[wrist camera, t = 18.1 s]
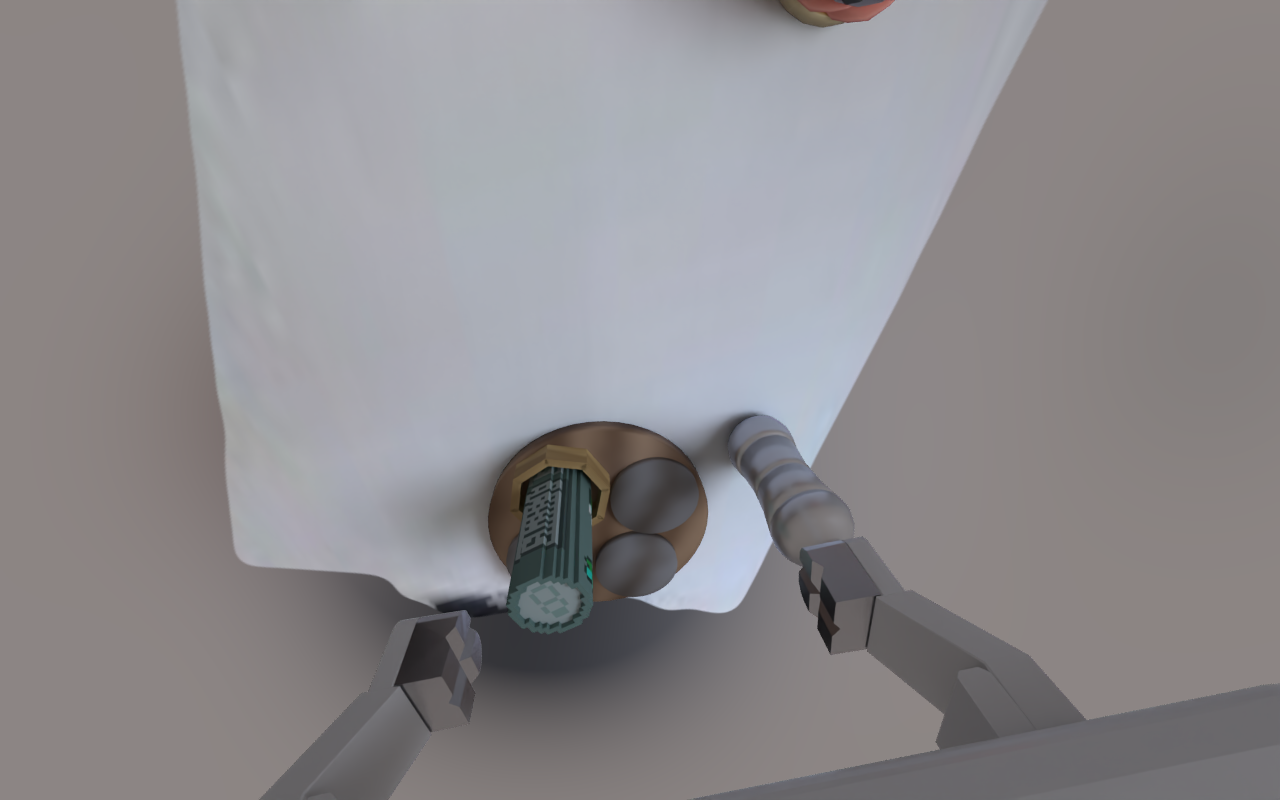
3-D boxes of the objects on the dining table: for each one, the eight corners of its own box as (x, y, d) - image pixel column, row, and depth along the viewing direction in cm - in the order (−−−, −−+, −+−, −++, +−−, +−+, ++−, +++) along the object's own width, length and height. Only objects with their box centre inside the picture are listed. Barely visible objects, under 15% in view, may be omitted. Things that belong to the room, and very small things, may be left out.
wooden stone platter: (485, 582, 56) (477, 614, 52) (498, 407, 46) (490, 431, 42) (677, 593, 60) (683, 623, 56) (728, 435, 50) (741, 459, 46)
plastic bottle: (710, 442, 50) (778, 595, 32) (752, 396, 48) (850, 532, 30) (752, 469, 52) (838, 626, 35) (794, 426, 50) (909, 569, 32)
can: (550, 515, 50) (537, 643, 36) (518, 475, 47) (491, 598, 34) (600, 491, 49) (605, 613, 36) (570, 449, 46) (564, 564, 33)
